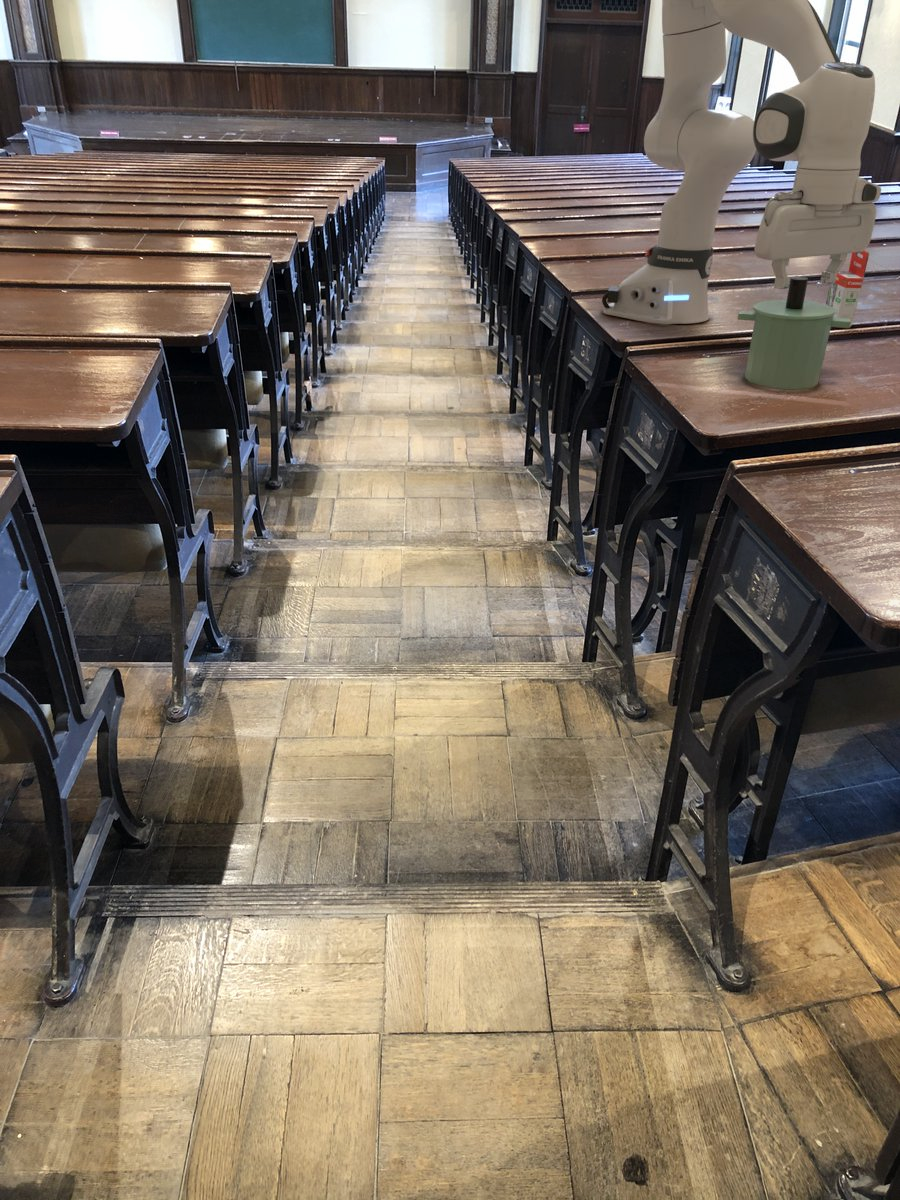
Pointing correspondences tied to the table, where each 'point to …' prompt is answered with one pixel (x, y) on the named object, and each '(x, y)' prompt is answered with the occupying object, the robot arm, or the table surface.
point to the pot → (787, 350)
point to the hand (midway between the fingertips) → (804, 285)
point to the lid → (795, 304)
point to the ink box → (848, 287)
